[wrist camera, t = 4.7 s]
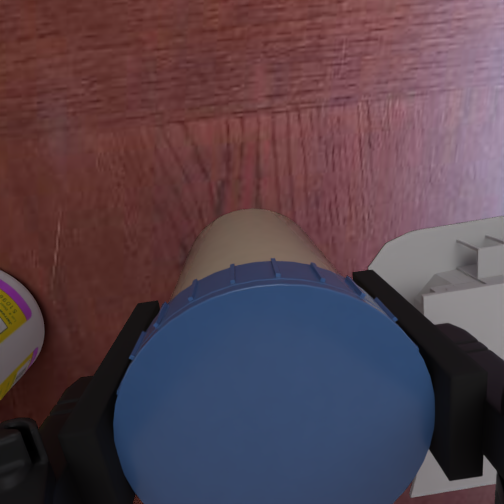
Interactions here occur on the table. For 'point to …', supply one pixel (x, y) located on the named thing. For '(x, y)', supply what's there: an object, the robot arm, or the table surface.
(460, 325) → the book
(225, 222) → the jar
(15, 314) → the supplement bottle
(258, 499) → the jar lid
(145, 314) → the robot arm
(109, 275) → the table surface
